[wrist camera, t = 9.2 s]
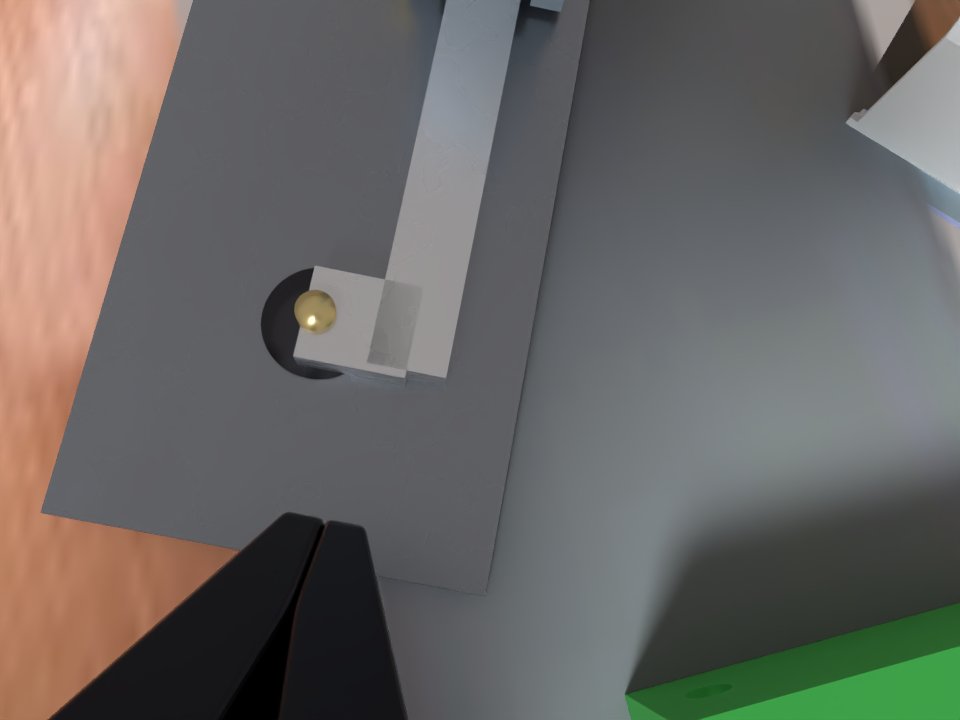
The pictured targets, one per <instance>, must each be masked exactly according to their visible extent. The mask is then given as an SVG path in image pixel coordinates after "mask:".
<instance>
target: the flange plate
mask: <svg viewBox="0 0 960 720" xmlns="http://www.w3.org/2000/svg"><path fill="white" fill-rule="evenodd" d="M589 2H590V0H564V2H563V6H562V9H561V12H558V11H553V10H548V9H544V8H539V7H534V6H530V3H531V0H193V3H192V6H191V10H190V13H189V16H188V20H187V23H186V27H185V30H184V33H183V37H182V40H181V43H180V47H179V50H178V53H177V57H176V60H175V63H174V67H173V70H172V74H171V77H170V80H169V84H168V87H167V90H166V94H165V97H164V100H163V104H162V107H161V110H160V114H159V117H158V121H157V124H156V127H155V131H154V134H153V137H152V141H151V144H150V147H149V151H148V154H147V157H146V161H145V164H144V168H143V171H142V174H141V178H140V181H139V184H138V188H137V191H136V194H135V198H134V201H133V204H132V208H131V211H130V214H129V218H128V221H127V225H126V228H125V231H124V235H123V238H122V241H121V245H120V248H119V251H118V255H117V258H116V261H115V265H114V268H113V272H112V275H111V278H110V282H109V285H108V288H107V292H106V295H105V298H104V302H103V305H102V308H101V312H100V315H99V319H98V322H97V325H96V329H95V332H94V335H93V339H92V342H91V345H90V349H89V352H88V355H87V359H86V362H85V366H84V369H83V372H82V376H81V379H80V382H79V386H78V389H77V392H76V396H75V399H74V402H73V406H72V409H71V413H70V416H69V419H68V423H67V426H66V429H65V433H64V436H63V439H62V443H61V446H60V449H59V453H58V456H57V459H56V463H55V466H54V470H53V473H52V476H51V480H50V483H49V486H48V490H47V493H46V496H45V500H44V503H43V506H42V510H41V513H44V514H50V515H55V516H60V517H66V518H71V519H76V520H82V521H87V522H92V523H98V524H103V525H108V526H114V527H119V528H124V529H130V530H135V531H140V532H146V533H151V534H156V535H162V536H167V537H172V538H178V539H183V540H188V541H194V542H199V543H204V544H210V545H215V546H220V547H226V548H231V549H236V550H242V549H243V548H244V547H245V546H246V545H247V544H249V543H250V542H251V541H252V540H253V539H254V538H255V537H257V536H258V535H259V534H260V533H261V532H262V531H263V530H265V529H266V528H267V527H268V526H269V525H270V524H271V523H273V522H274V521H275V520H276V519H277V518H278V517H279V516H281V515H282V514H284V513H286V512H294V513H300V514H305V515H310V516H315V517H319V518H321V519H322V520H323V522H324V524H325V523H326V522H327V521H329V520H336V521H342V522H347V523H352V524H357V525H361V526H363V527H364V528H365V530H366V532H367V536H368V541H369V545H370V550H371V554H372V559H373V563H374V568H375V572H376V576H381V577H386V578H391V579H397V580H402V581H407V582H413V583H418V584H423V585H429V586H434V587H439V588H445V589H450V590H455V591H461V592H466V593H471V594H477V595H482V596H486V590H487V585H488V579H489V573H490V567H491V562H492V556H493V550H494V545H495V539H496V533H497V527H498V522H499V516H500V510H501V505H502V499H503V493H504V487H505V482H506V476H507V470H508V465H509V459H510V453H511V447H512V442H513V436H514V430H515V425H516V419H517V413H518V408H519V402H520V396H521V390H522V385H523V379H524V373H525V368H526V362H527V356H528V350H529V345H530V339H531V333H532V328H533V322H534V316H535V310H536V305H537V299H538V293H539V288H540V282H541V276H542V271H543V265H544V259H545V253H546V248H547V242H548V236H549V231H550V225H551V219H552V213H553V208H554V202H555V196H556V191H557V185H558V179H559V173H560V168H561V162H562V156H563V151H564V145H565V139H566V133H567V128H568V122H569V116H570V111H571V105H572V99H573V94H574V88H575V82H576V76H577V71H578V65H579V59H580V54H581V48H582V42H583V36H584V31H585V25H586V19H587V14H588V8H589Z"/></svg>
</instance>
